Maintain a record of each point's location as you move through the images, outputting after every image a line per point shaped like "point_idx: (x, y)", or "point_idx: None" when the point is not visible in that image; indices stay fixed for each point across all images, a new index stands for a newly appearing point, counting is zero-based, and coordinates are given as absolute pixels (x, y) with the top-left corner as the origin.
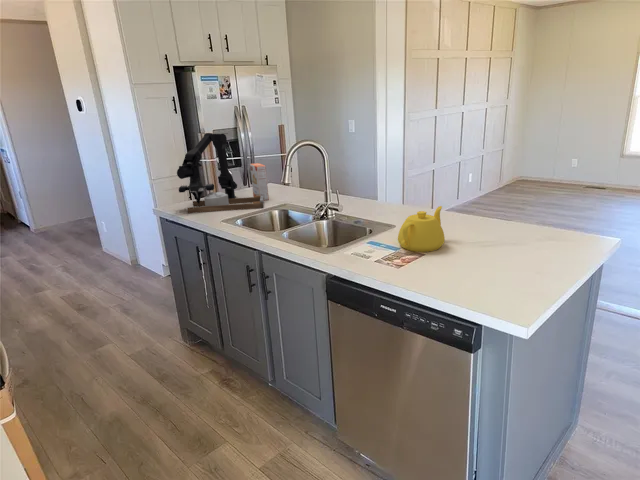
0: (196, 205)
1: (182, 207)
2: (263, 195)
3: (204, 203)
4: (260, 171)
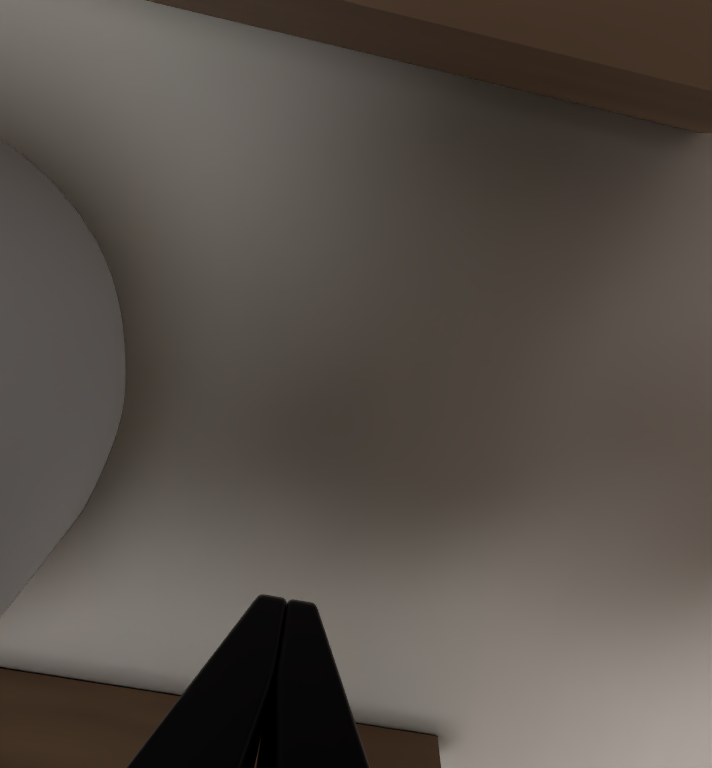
0: (368, 745)
1: (655, 762)
2: None
3: None
4: None
